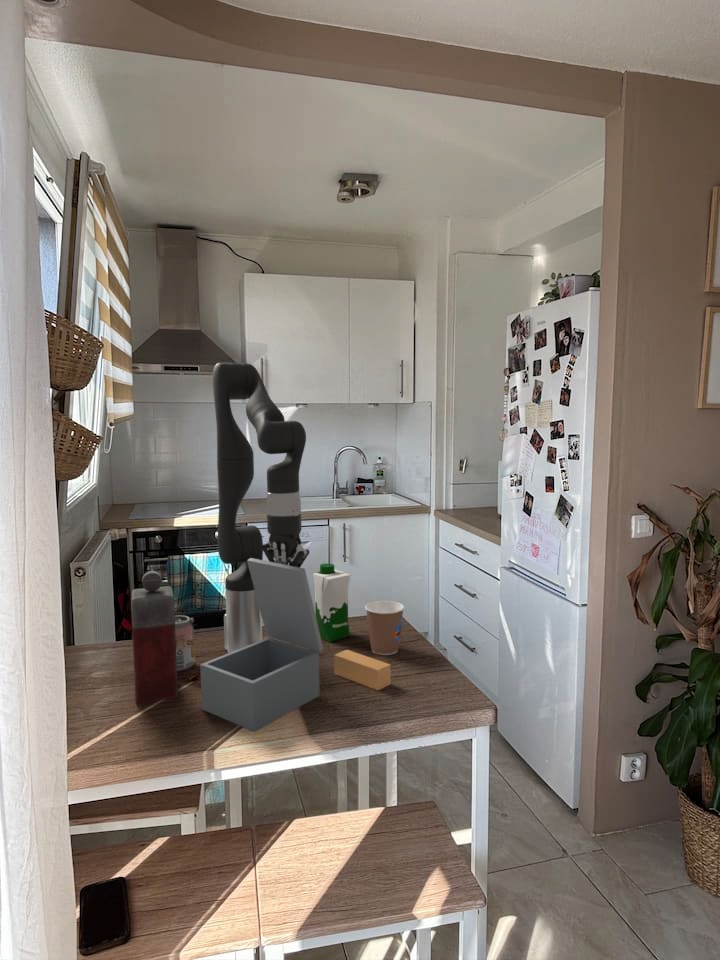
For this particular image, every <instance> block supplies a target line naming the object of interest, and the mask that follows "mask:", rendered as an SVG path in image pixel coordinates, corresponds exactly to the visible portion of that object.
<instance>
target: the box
mask: <svg viewBox="0 0 720 960" xmlns="http://www.w3.org/2000/svg"><path fill="white" fill-rule="evenodd" d="M199 667H200V668H199V669H200V692H201V693H200V695H201V710H202V711H205V712H207V713H210V714H211V715H214V716H217V717H219V718H222V719H223V720H226V721H228V722H230V723H233V724H235V725H238V726H240V727H242V728H245V729H247V730H249V731H252V732H256V731H257V730H259V729H261V728H263V727H264V726H267V725H269V724H270V723H272V722H274V721H276V720H278V719H279V718H282V717H283V716H285V715H287V714H289V713H291V712H293V711H294V710H297V709H298V708H300V707H302V706H303V705H305V704H307V703H309V702H311V701H313V700H315V699H316V698H319V697H320V653H319V651H315V650H312V649H309V648H305V647H302V646H298V645H295V644H292V643H288V642H285V641H282V640H278V639H275V638H271V637H266V638H262V640H261V641H258V642H256V643H253V644H251V645H248V646H246V647H243V648H240V649H238V650H235V651H233V652H230V653H228V652H227V653H225V654H223V655H221V656H218V657H216V658H213V659H210V660H207V661H205V662H203V663H200V665H199Z"/></svg>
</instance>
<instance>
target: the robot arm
mask: <svg viewBox="0 0 720 960" xmlns="http://www.w3.org/2000/svg"><path fill="white" fill-rule="evenodd" d="M212 371H213V372H212V390H213V391H212V392H213V393H212V394H213V401H214V412H215V421H216V423H215V424H216V469H217V485H218V519H217V520H218V521H217V551H218V555H219V558H220V560H221V562H222V563H224V564H226V565H231V564H238V563H241V565H240V567H238V568H237V569H236V570H235V571H233V572H231V573H230V574H228V575H227V576H226V578H225V580H224V581H225V583H224V584H225V585H224V586H225V587H224V588H225V614H224V615H223V628H224V629H223V631H224V650H227V654H228V653H230V652H233V651H235V650H238V649H240V648H243V647H246V646H248V645H251V644H253V643H256V642H258V641H261V640H263V619H262V616H261V612H260V608H259V604H258V600H257V597H256V593H255V589H254V585H253V582H252V578H251V574H250V570H249V566H248V563H247V560H248V559H250V558H254V559H259V560H264V558H263V556H264V555H265V557H266V558H267V560H268V561H269V562H274V563H279V564H284V565H289V566H294V567H299V568H302V565H303V564H304V563H305V561H306V559H307V557H308V556H309V554H310V550H309V549H308V548H306V549H305V548H304V547H303V546H302V540H301V537H300V534H301V532H302V505H301V504H302V503H301V496H300V495H301V494H300V468H301V463H302V459H303V455H304V451H305V447H306V443H307V433H306V430H305V427H304V425H303V424H302V423H301V422H300V421H297V420H288V421H287V420H286V421H285V416H284V415H283V412H282V411H281V410H280V408H279V407H278V406H277V404H275V403H274V402H273V400H272V399H271V397H270V395H269V393H268V390H267V388H266V386H265V383H264V382H263V379H262V377H261V375H260V373H259V371H258V370H257V368H256V367H255V366H254V365H253V364H250V363H245V362H217V363H216V364H215V365H214V367H213V369H212ZM230 400H233V401H234V400H237V401H238V400H240V401H241V400H244V401H245V400H247V401H246V405H245V414H246V417H247V419H248V421H249V422H250V424H251V425H252V426H253V428H254V429H255V432H256V436H257V438H256V439H257V446H258V448H259V449H260V450H261V451H262V452H263V453H265V454H268V455H278V454H280V455H281V454H286V456H285V457H284V458H283V459H284V460H282V461H281V462H279V463H276V464H273V465H270V466H269V467H268V468H267V470H266V485H267V486H266V487H267V488H266V491H267V493H266V520H267V521H266V525H267V530H266V531H267V533H268V534H269V537H268V542H267V543H265V544H264V543H263V536H262V535H263V534H262V533H261V530H260V529H259V527H257V526H256V525H243V526H237V525H236V522H237V516H238V515H237V514H238V511H239V507H240V506H241V503H242V501H243V500H244V497H245V496H246V494H247V492H248V491H249V488H250V487H251V485H252V482H253V479H254V475H255V465H254V463H255V462H254V461H255V460H254V459H255V458H254V451H253V448H252V445H251V443H250V442H249V440H248V439H247V437H246V436H245V434H244V433H243V431H242V430H241V428H240V427H239V425H238V424H237V422H236V419H235V417H234V415H233V412H232V407H231V401H230Z"/></svg>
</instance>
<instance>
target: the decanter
mask: <svg viewBox="0 0 720 960" xmlns="http://www.w3.org/2000/svg"><path fill="white" fill-rule="evenodd" d="M162 584H163V580H162V576H161V574H160V573H159V572H158V571H156V570H149V571H146V572H145V573H144V574H143V575H142V579H141V585H142V588H134V589H132V590H131V599H130V600H131V602H130V606H131V607H130V609H131V610H130V611H131V630H132V650H133V654H132V655H133V671H134V674H133V675H134V677H133V678H134V692H135V694H134V695H135V704H140V703H147V702H154V701H155V702H156V701H162V700H170V699H177V698H178V697H179V694H178V690H179V689H178V688H179V687H178V671H177V661H176V635H175V616H176V611H175V609H176V608H175V596H174V591H173V588H172V586H170V585H166V586H162Z"/></svg>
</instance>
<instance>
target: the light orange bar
mask: <svg viewBox="0 0 720 960" xmlns="http://www.w3.org/2000/svg"><path fill="white" fill-rule="evenodd" d="M391 673H392V672H391V664H390V663H387V662H385V661H381V660H378V659H376V658H372V657H369V656H366V655H364V654H360V653H359V652H355V651H352V650H350V649H345V650H343V651H340V652H337V653H335V654H333V674H334V675H336V676H339V677H341V678H344V679H346V680H349V681H352V682H354V683H358V684H359V685H362V686H365V687H368V688H371V689H373V690H376V691H380V690H382V689H385V688H386V687H387V686H390V685H391V681H392V680H391V678H392V677H391V676H392V675H391Z"/></svg>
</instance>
